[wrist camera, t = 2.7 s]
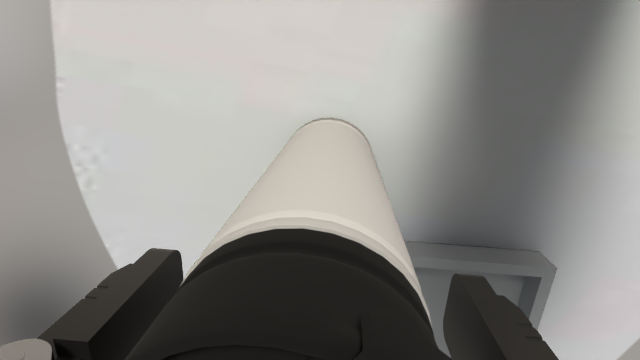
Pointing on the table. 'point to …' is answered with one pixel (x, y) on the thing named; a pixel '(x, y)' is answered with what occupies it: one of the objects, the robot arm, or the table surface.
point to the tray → (493, 263)
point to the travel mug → (302, 268)
